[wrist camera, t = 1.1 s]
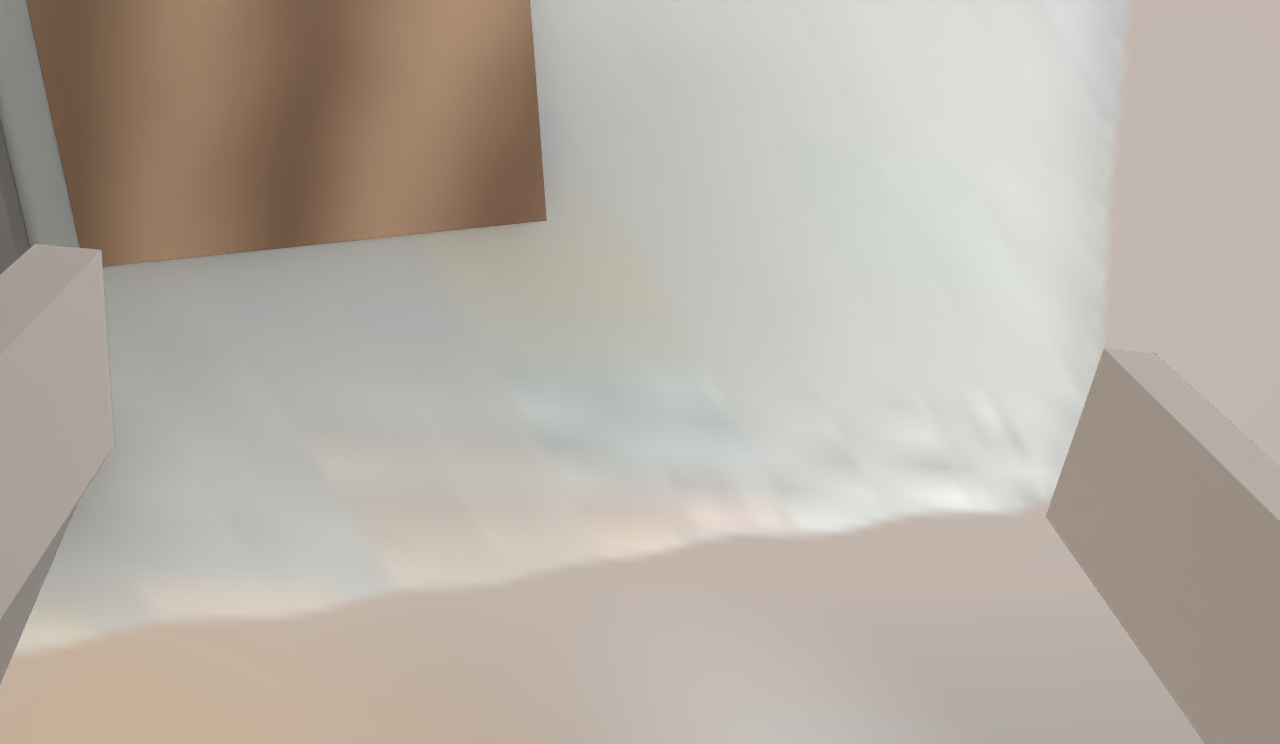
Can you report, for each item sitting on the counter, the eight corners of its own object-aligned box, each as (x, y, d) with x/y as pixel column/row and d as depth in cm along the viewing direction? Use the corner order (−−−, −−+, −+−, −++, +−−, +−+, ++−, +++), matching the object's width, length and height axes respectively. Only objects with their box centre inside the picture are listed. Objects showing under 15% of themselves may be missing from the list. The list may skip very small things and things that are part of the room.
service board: (90, 260, 33) (84, 268, 32) (-20, -254, 28) (-31, -261, 28) (540, 213, 36) (546, 220, 35) (503, -257, 31) (509, -264, 31)
